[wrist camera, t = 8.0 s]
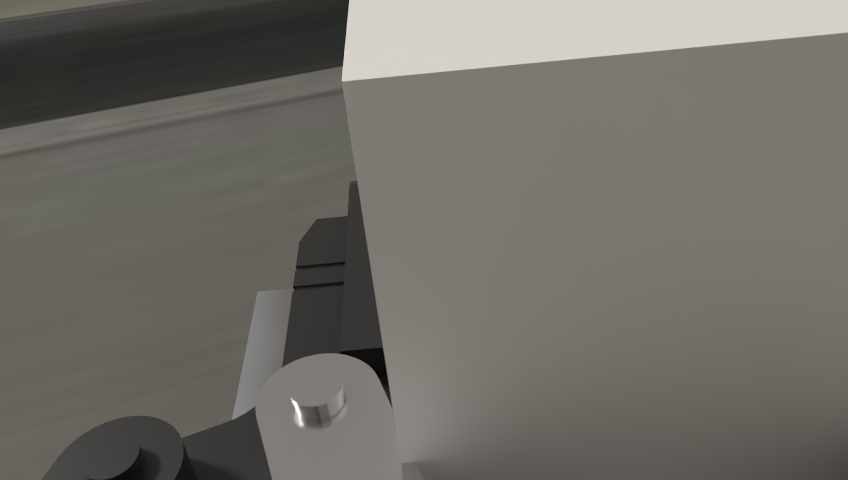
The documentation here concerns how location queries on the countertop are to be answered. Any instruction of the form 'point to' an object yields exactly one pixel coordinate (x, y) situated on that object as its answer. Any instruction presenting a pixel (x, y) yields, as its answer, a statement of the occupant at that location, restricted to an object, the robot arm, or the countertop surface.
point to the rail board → (263, 346)
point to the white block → (607, 234)
